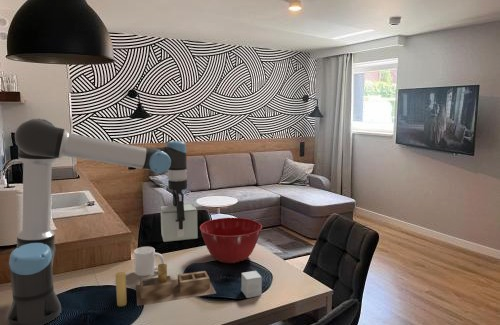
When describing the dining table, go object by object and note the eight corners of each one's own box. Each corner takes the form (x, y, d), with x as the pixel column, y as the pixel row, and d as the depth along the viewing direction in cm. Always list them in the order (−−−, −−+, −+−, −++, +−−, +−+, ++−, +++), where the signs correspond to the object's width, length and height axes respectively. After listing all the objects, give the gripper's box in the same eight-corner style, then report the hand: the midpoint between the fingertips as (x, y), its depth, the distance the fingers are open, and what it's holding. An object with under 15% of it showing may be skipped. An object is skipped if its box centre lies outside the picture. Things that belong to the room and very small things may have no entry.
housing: (163, 241, 147) (162, 212, 146) (161, 234, 156) (160, 206, 155) (197, 238, 152) (197, 209, 150) (193, 230, 161) (192, 203, 159)
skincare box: (241, 290, 141) (241, 272, 140) (256, 288, 143) (256, 270, 142) (246, 298, 135) (246, 279, 134) (262, 295, 138) (262, 276, 137)
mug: (165, 269, 160) (165, 246, 158) (162, 277, 152) (162, 253, 150) (137, 269, 159) (136, 246, 157) (132, 278, 151) (131, 254, 149)
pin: (117, 309, 127) (115, 276, 126) (117, 305, 130) (115, 272, 129) (126, 308, 128) (125, 275, 127) (126, 303, 131) (125, 271, 130)
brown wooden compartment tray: (137, 308, 128) (136, 278, 126) (135, 287, 143) (134, 260, 141) (216, 295, 137) (216, 267, 135) (207, 277, 152) (206, 251, 150)
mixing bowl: (192, 251, 179) (192, 220, 177) (246, 243, 191) (246, 214, 189) (211, 275, 154) (211, 239, 152) (272, 263, 166) (272, 230, 164)
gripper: (191, 184, 141) (192, 240, 144) (182, 174, 162) (183, 223, 165) (171, 185, 139) (173, 242, 142) (165, 175, 160) (166, 225, 163)
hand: (178, 232), depth 154 cm, fingers closed on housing, 10 cm apart
